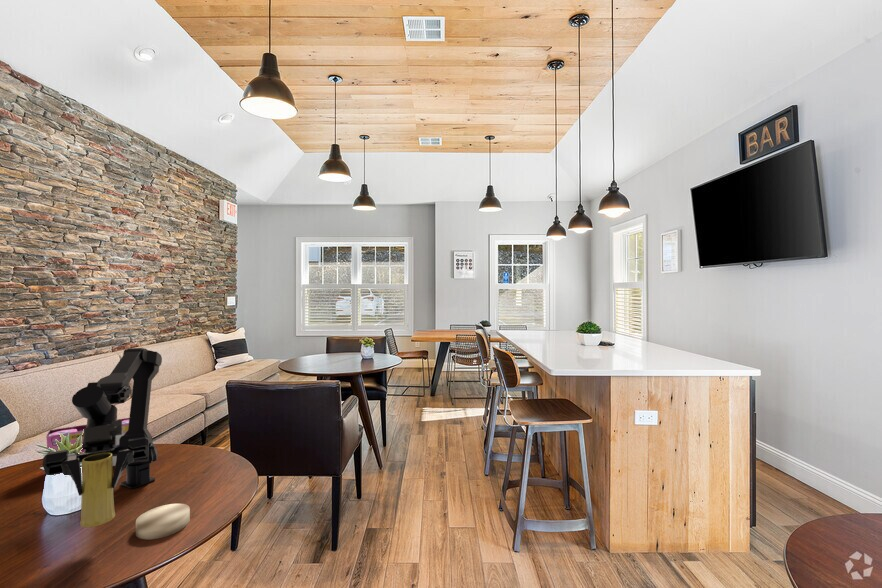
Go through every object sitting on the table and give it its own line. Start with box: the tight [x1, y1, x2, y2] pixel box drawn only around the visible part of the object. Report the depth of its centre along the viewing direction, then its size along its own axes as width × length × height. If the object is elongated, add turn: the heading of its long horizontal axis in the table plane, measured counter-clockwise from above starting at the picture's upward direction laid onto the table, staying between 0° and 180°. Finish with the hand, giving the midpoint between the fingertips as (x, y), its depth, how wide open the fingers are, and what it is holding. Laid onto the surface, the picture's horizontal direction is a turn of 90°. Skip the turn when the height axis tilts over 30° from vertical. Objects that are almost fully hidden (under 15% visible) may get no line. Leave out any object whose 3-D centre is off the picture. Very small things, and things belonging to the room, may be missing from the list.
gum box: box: [45, 417, 129, 467], centre depth 137 cm, size 24×8×14 cm, turn 128°
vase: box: [79, 452, 116, 528], centre depth 93 cm, size 6×6×14 cm
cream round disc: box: [135, 503, 191, 540], centre depth 102 cm, size 11×11×3 cm
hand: (97, 491), depth 92 cm, fingers closed on vase, 5 cm apart
